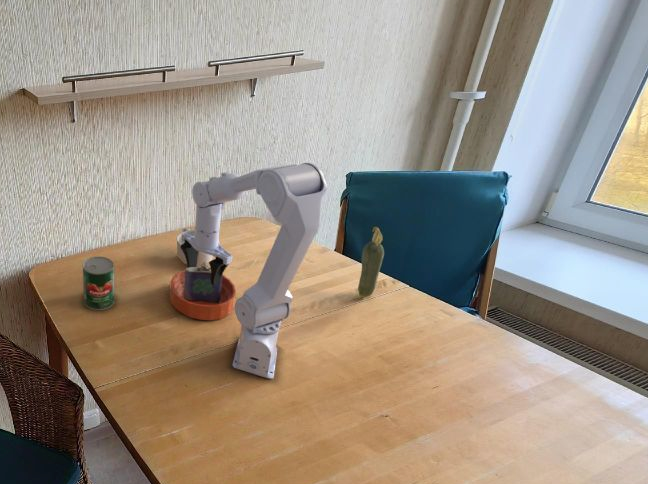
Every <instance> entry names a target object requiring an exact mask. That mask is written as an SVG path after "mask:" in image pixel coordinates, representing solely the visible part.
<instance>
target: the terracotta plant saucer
mask: <svg viewBox="0 0 648 484" xmlns="http://www.w3.org/2000/svg"><path fill="white" fill-rule="evenodd" d="M169 282H170V283H169V284H170V285H169V301H170V303H171V304H172V306H173V307H174V308H175V309H176V310H177V311H178V312H179V313H181V314H183V315H185V316H187V317H189V318H192V319H196V320H199V321H200V320H203V321H215V320H220V319H223V318H225V317H227V316H229V315H230V314H231V312H233V311H234V308H235V303H236V294H237V292H236V291H237V290H236V287H235V284H234V283H233V282H232V280H231V279H229V278H228V277H226V275H224V274H223V276H222V285H221V296H220V301H219V303H210V302H207V303H206V302H196V301H192V302H190V301H187V300H185V299H184V297H183V295H184V283H185V269H184V270H181V271H179V272H177V273H175V274H174V275H173V276H172V278H171V280H170V281H169Z"/></svg>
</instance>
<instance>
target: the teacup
mask: <svg viewBox="0 0 648 484" xmlns="http://www.w3.org/2000/svg"><path fill="white" fill-rule="evenodd" d="M185 232H189V233H192V234H195V229H190V228H189V227H184V228H183V229H182V232H180V233H179V234H178V235H177V236H176V250H177V256H178V259H179V260H180V261H181V262H182V263H183V264H185V265H187V261H186V258H185V255H184V253H183V251H182V249H181V245H182V244H184V241H182V240H181V238H182V233H185ZM213 257H214V256H212V255H209V254H206V253H202V252H199V253H198V258H197V266H196V267H201V265H202V263H203V262H206V265H209V261H212V260H213V259H214V258H213ZM201 262H202V263H201Z"/></svg>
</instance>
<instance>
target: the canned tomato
mask: <svg viewBox="0 0 648 484" xmlns="http://www.w3.org/2000/svg"><path fill="white" fill-rule="evenodd" d="M81 266H82V282H83V283H82V284H83V302H84V306H86V307H87V308H88V309H90V310H93V311H105V310H108V309H110V308H111V307H113V305H114V304H115V267H114V266H115V264H114V261H113V260H111V259H110V258H108V257H106V256H92V257H88V258H87V259H85V260H83V262H82V265H81Z"/></svg>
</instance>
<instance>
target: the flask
mask: <svg viewBox="0 0 648 484" xmlns="http://www.w3.org/2000/svg"><path fill="white" fill-rule="evenodd" d="M201 263H202V262H201ZM184 270H185V283H184V295H183V297H184V299H185V300H187V301H190V302H192V301H196V302H206V303H207V302H210V303H219V301H220V296H221V285H222V276H223V275H224V274H222V276H221V278H220V281H219V283H217V284H215V285H212V284H211V268H210V266H208V264H206V262H203V263H202V265H201V267H188V266H187V267H186V268H185V269H184Z"/></svg>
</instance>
